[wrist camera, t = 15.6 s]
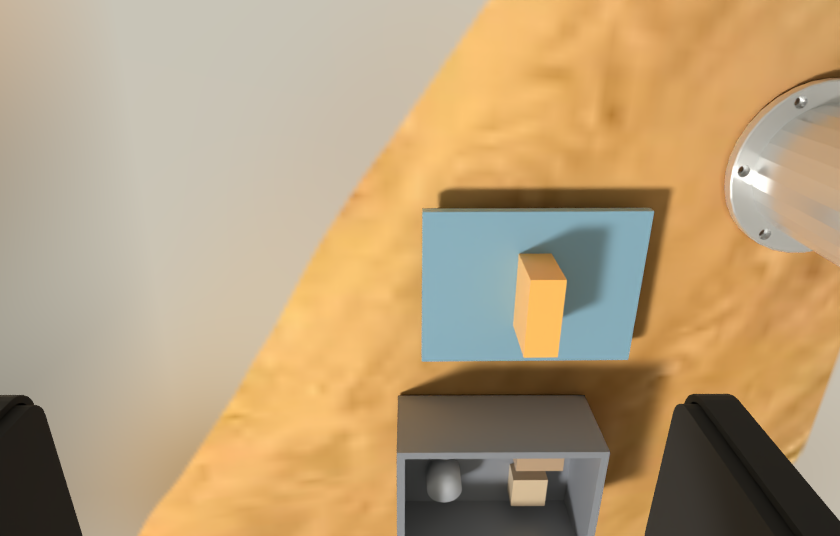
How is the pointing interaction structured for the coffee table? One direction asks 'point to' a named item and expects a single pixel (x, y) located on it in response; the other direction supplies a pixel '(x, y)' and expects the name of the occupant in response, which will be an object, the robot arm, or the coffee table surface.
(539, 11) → the coffee table surface
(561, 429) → the parts tub
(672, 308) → the coffee table surface
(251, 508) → the coffee table surface
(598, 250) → the tub lid
